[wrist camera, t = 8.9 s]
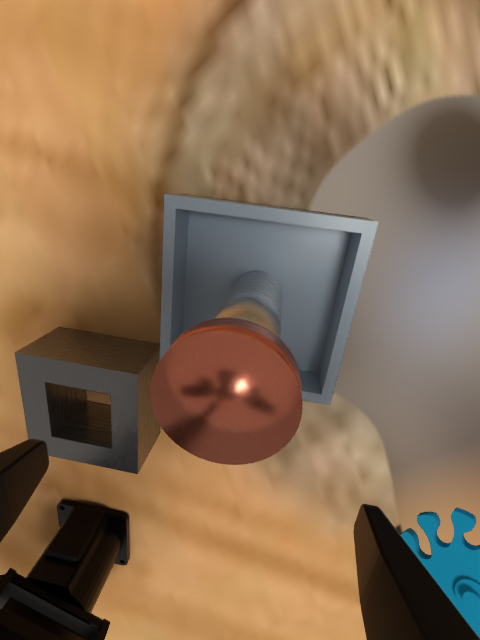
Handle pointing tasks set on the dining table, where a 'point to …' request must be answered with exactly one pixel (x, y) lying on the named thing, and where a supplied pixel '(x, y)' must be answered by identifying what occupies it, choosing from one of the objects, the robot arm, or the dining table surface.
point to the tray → (275, 258)
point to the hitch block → (84, 416)
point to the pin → (232, 379)
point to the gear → (452, 562)
